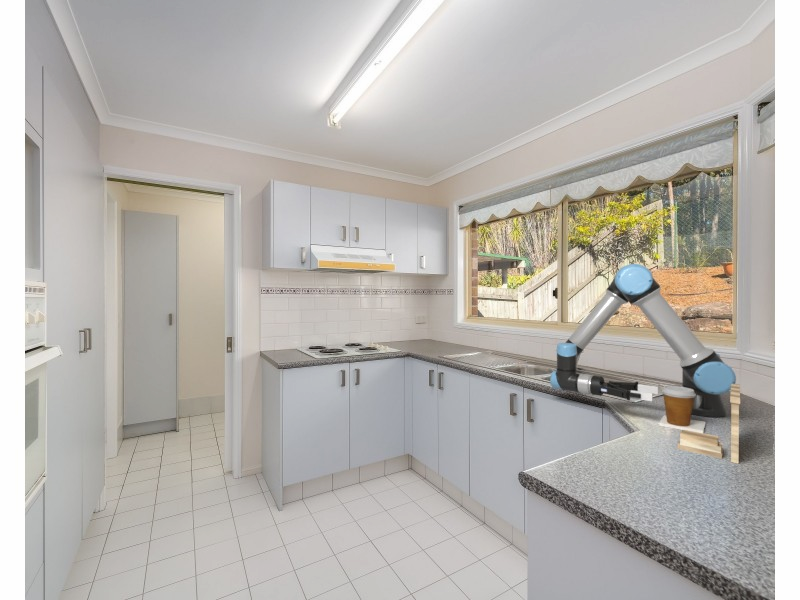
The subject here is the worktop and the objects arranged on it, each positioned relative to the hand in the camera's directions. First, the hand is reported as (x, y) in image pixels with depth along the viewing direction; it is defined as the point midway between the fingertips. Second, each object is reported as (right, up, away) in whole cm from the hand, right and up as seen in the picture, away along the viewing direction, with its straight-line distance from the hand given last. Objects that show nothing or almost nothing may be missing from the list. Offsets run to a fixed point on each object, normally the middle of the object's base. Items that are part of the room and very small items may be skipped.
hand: (655, 393), depth 139 cm
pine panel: (+5, -10, -27) cm, 29 cm away
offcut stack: (-6, -10, -28) cm, 30 cm away
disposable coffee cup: (+3, -9, -7) cm, 12 cm away
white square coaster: (+6, -10, -5) cm, 12 cm away
